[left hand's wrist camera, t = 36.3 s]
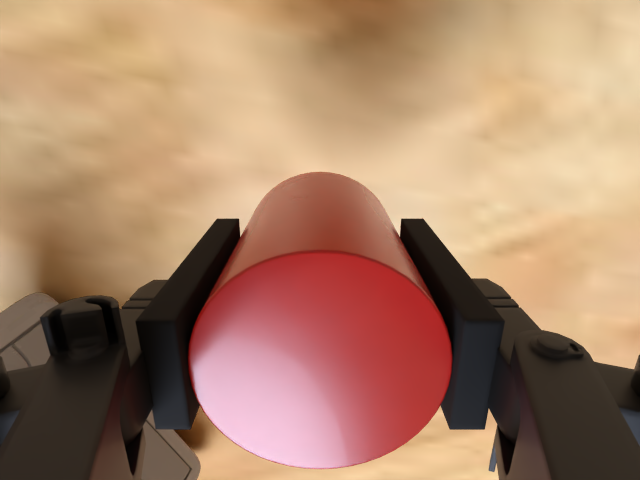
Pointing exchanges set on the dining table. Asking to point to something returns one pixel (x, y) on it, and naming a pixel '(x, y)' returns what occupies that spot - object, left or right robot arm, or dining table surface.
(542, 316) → the dining table surface
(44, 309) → the digital clock
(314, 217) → the canister
